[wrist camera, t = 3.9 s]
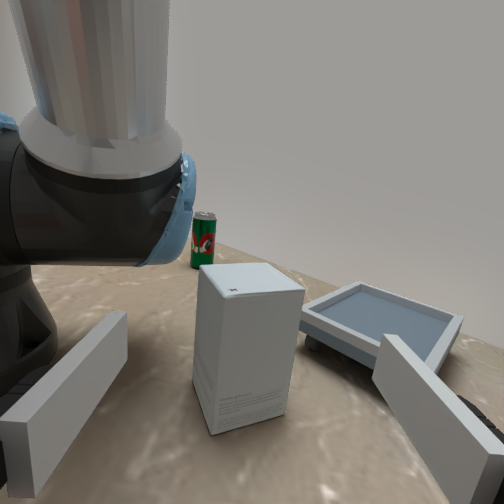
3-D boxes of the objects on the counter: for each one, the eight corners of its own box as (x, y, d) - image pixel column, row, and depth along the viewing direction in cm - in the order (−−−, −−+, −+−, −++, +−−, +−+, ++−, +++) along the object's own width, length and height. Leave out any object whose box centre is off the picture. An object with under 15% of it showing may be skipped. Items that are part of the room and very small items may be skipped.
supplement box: (287, 416, 26) (309, 289, 23) (208, 438, 23) (221, 295, 20) (254, 365, 32) (268, 260, 29) (190, 377, 29) (197, 262, 26)
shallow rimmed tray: (416, 423, 27) (433, 372, 25) (290, 347, 36) (296, 307, 35) (451, 353, 40) (464, 316, 38) (351, 311, 49) (357, 280, 48)
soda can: (216, 265, 65) (220, 214, 62) (207, 271, 60) (211, 216, 57) (196, 261, 66) (199, 210, 63) (186, 267, 62) (188, 212, 58)
